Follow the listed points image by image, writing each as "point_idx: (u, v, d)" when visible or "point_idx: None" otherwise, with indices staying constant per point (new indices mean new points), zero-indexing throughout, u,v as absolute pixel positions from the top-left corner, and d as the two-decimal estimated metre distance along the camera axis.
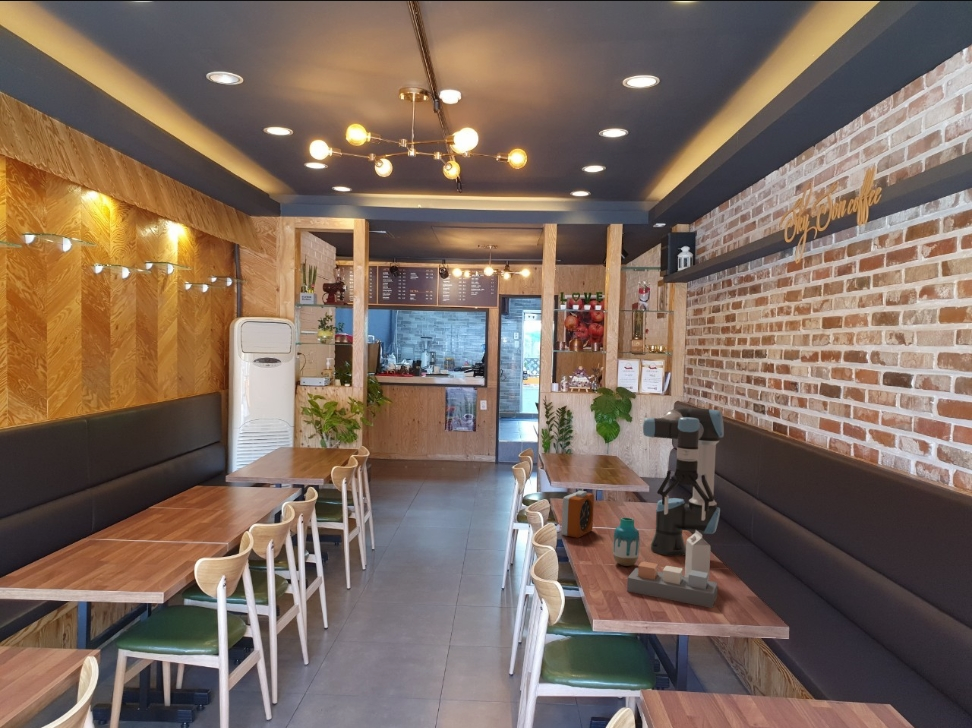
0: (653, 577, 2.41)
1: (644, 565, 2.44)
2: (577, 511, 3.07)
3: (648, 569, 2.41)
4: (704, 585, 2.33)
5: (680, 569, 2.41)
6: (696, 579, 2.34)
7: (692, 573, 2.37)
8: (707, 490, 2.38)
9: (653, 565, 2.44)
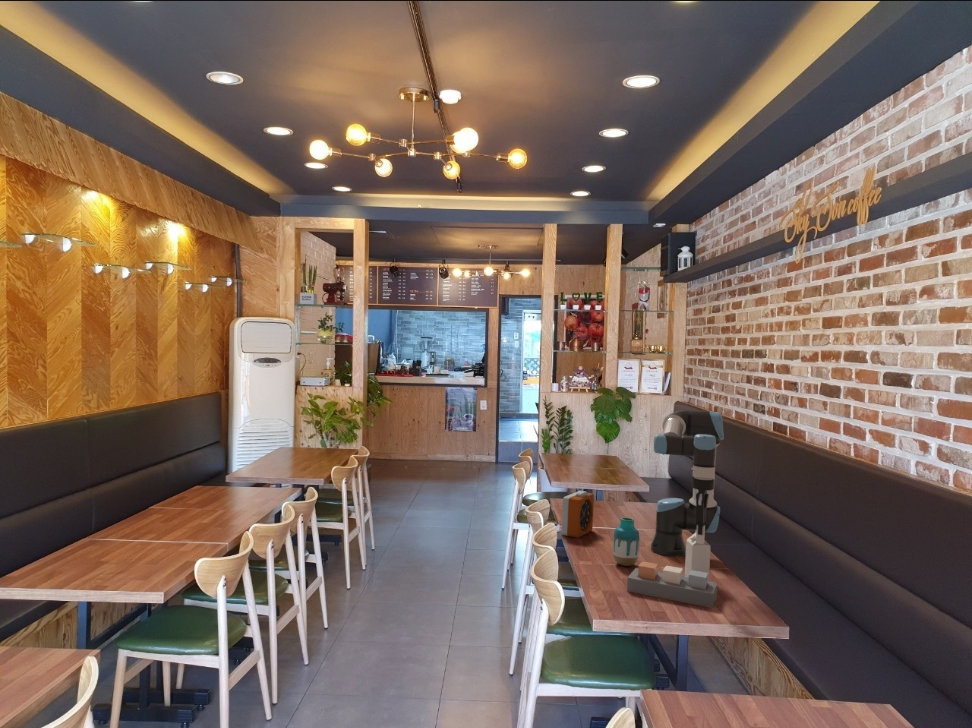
0: (653, 577, 2.41)
1: (644, 565, 2.44)
2: (577, 511, 3.07)
3: (648, 569, 2.41)
4: (704, 585, 2.33)
5: (680, 569, 2.41)
6: (696, 579, 2.34)
7: (692, 573, 2.37)
8: (696, 513, 2.33)
9: (653, 565, 2.44)
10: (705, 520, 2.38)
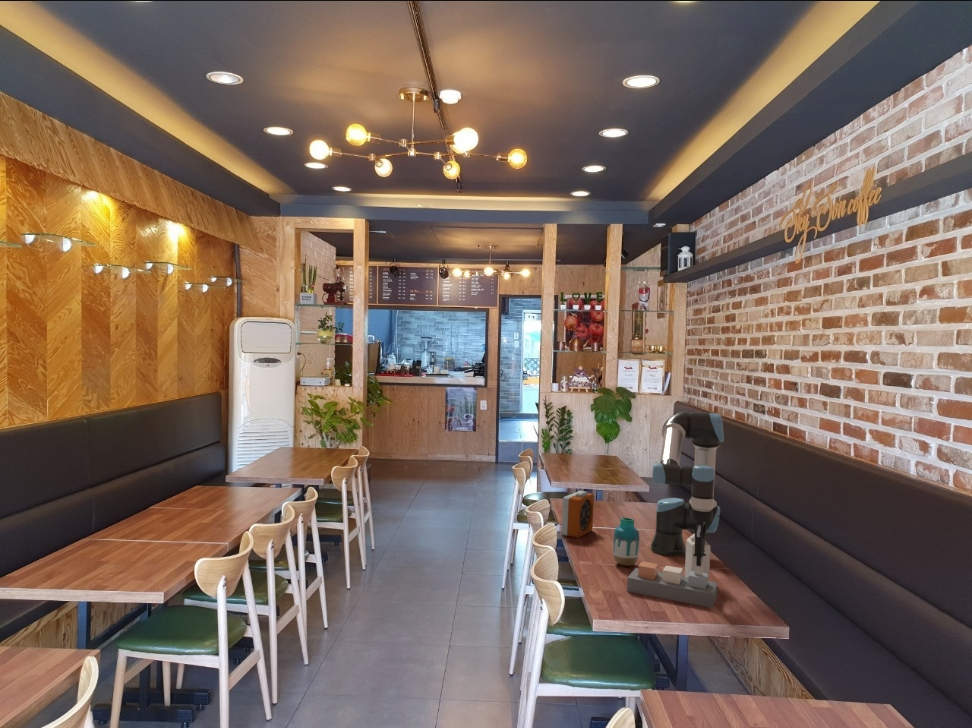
0: (653, 577, 2.41)
1: (644, 565, 2.44)
2: (577, 511, 3.07)
3: (648, 569, 2.41)
4: (704, 586, 2.33)
5: (680, 569, 2.41)
6: (696, 580, 2.34)
7: (692, 574, 2.37)
8: None
9: (653, 565, 2.44)
10: (704, 551, 2.38)
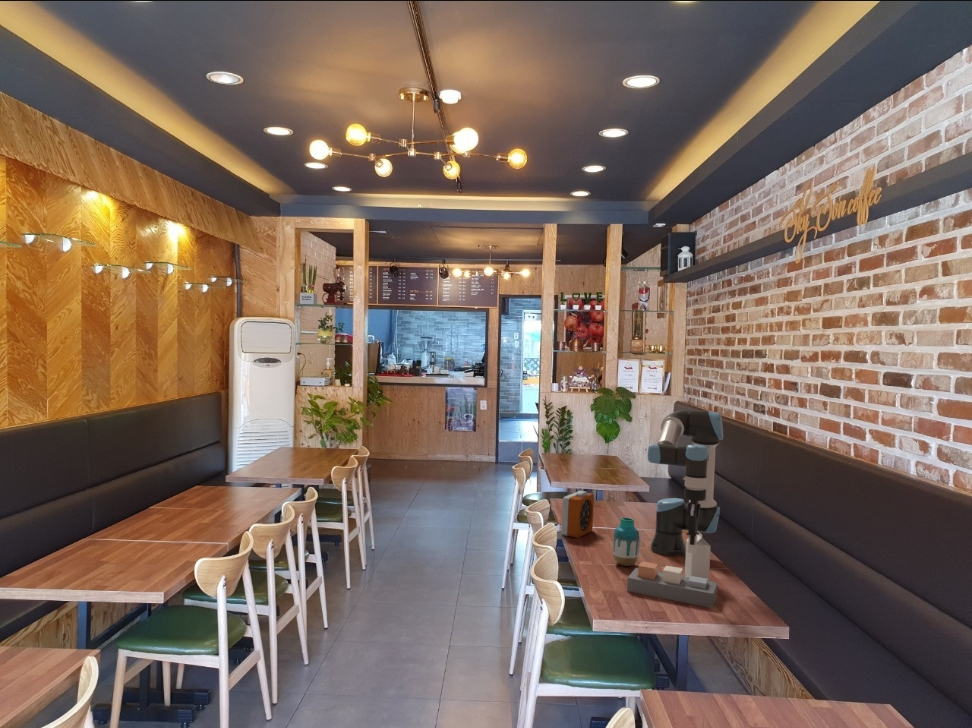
0: (653, 577, 2.41)
1: (644, 565, 2.44)
2: (577, 511, 3.07)
3: (648, 569, 2.41)
4: None
5: (680, 569, 2.41)
6: (696, 585, 2.34)
7: (692, 579, 2.37)
8: (688, 523, 2.34)
9: (653, 565, 2.44)
10: (697, 530, 2.40)
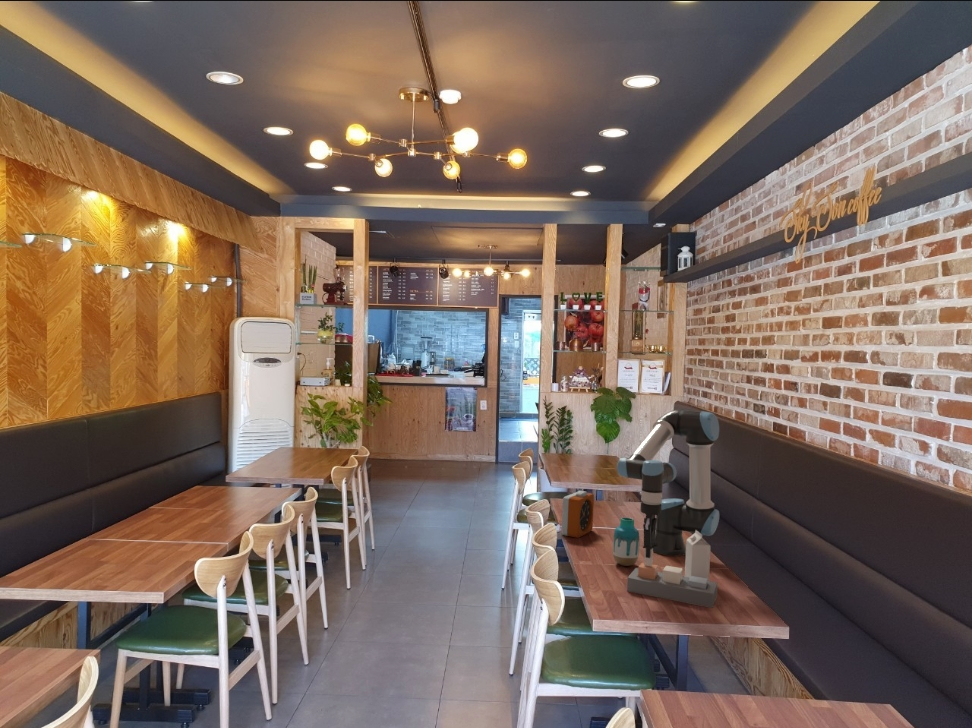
0: (653, 578, 2.41)
1: (644, 566, 2.44)
2: (577, 511, 3.07)
3: (648, 570, 2.41)
4: None
5: (680, 569, 2.41)
6: (696, 585, 2.34)
7: (692, 579, 2.37)
8: None
9: (653, 566, 2.44)
10: (653, 543, 2.46)
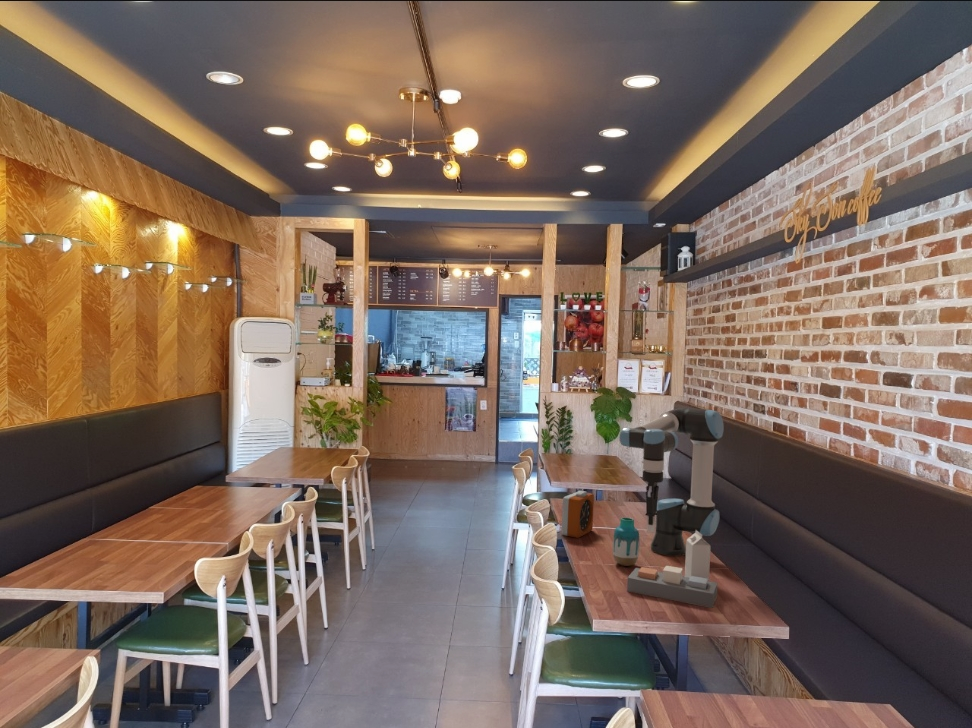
0: None
1: (644, 571, 2.44)
2: (577, 511, 3.07)
3: (648, 574, 2.42)
4: None
5: (680, 569, 2.41)
6: (696, 585, 2.34)
7: (692, 579, 2.37)
8: None
9: (652, 571, 2.44)
10: (656, 510, 2.49)
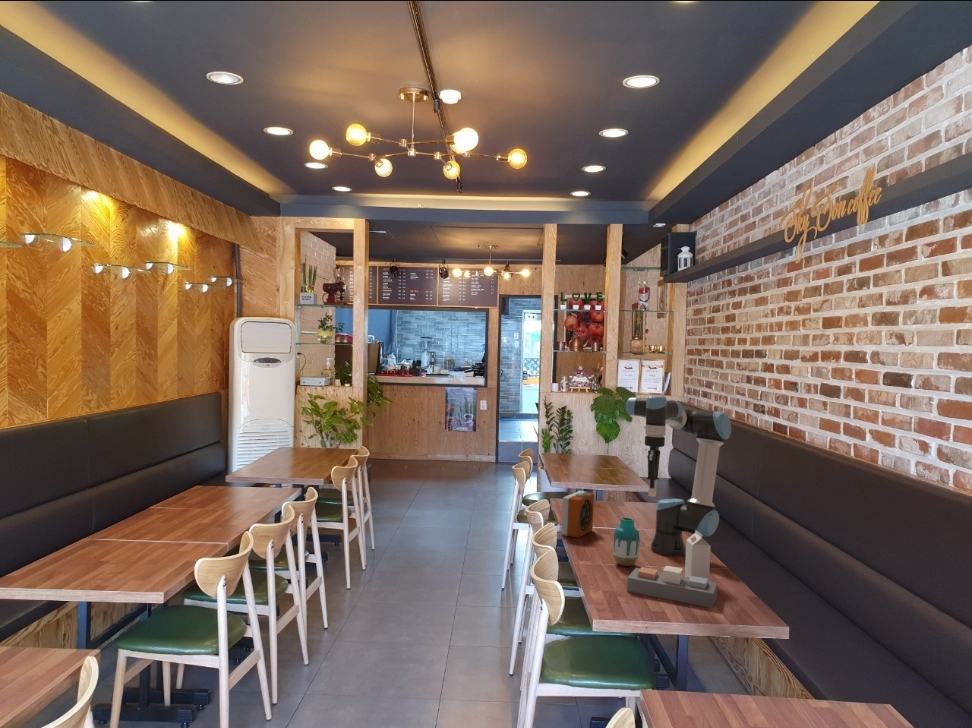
0: None
1: (644, 571, 2.44)
2: (577, 511, 3.07)
3: (648, 574, 2.42)
4: None
5: (680, 569, 2.41)
6: (696, 585, 2.34)
7: (692, 579, 2.37)
8: None
9: (652, 571, 2.44)
10: (657, 475, 2.57)
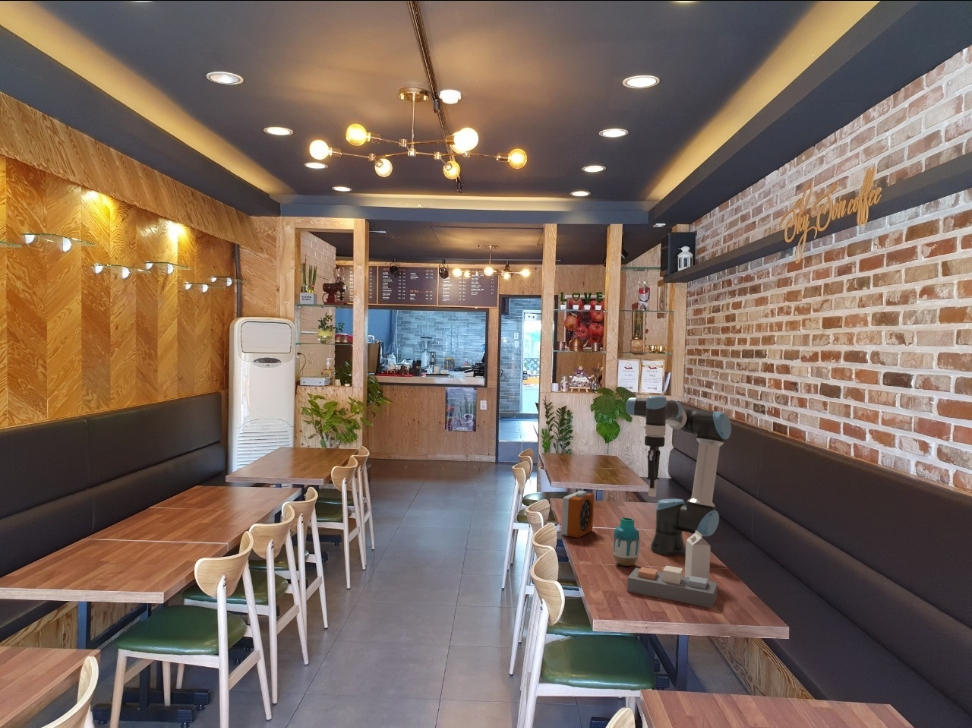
0: None
1: (644, 571, 2.44)
2: (577, 511, 3.07)
3: (648, 574, 2.42)
4: None
5: (680, 569, 2.41)
6: (696, 585, 2.34)
7: (692, 579, 2.37)
8: None
9: (652, 571, 2.44)
10: (657, 475, 2.57)
